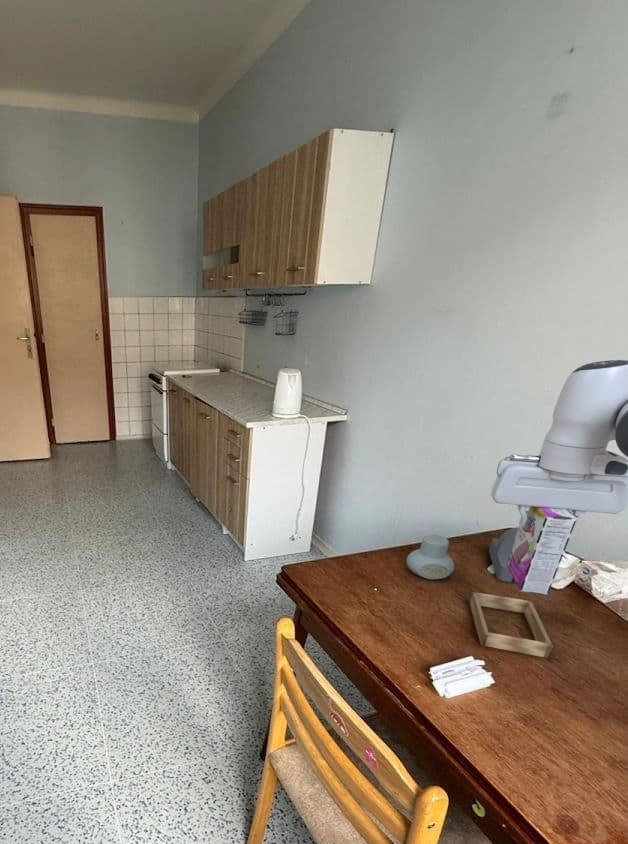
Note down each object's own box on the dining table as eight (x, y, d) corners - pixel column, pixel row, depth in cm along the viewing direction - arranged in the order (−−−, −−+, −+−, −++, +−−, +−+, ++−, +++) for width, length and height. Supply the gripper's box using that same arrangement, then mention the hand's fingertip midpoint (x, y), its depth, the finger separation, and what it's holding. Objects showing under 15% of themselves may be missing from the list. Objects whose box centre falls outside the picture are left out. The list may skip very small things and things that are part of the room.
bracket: (528, 554, 130) (541, 519, 125) (542, 587, 115) (558, 548, 110) (488, 548, 133) (499, 513, 128) (497, 579, 119) (510, 541, 114)
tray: (527, 612, 107) (531, 601, 105) (547, 658, 93) (553, 646, 92) (469, 602, 111) (472, 591, 109) (480, 645, 97) (484, 633, 96)
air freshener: (446, 567, 125) (455, 533, 120) (454, 583, 118) (465, 548, 113) (401, 563, 127) (409, 530, 122) (407, 579, 120) (416, 544, 115)
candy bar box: (503, 565, 101) (527, 493, 94) (531, 568, 100) (557, 495, 92) (518, 592, 92) (546, 515, 84) (548, 596, 90) (579, 518, 83)
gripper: (505, 458, 85) (484, 528, 91) (648, 467, 78) (615, 542, 85) (498, 449, 90) (479, 515, 97) (632, 457, 83) (602, 528, 90)
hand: (543, 528), depth 91 cm, fingers closed on candy bar box, 5 cm apart
